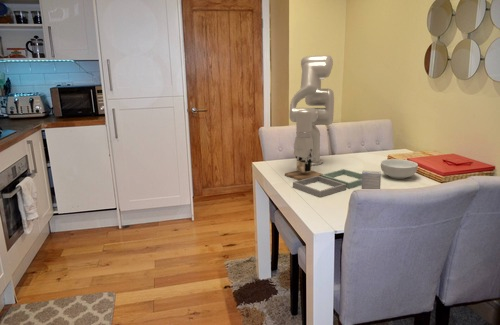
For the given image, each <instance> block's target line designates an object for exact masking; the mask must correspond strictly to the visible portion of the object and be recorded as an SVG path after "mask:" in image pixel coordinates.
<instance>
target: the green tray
mask: <svg viewBox="0 0 500 325" xmlns="http://www.w3.org/2000/svg"><path fill="white" fill-rule="evenodd" d="M343 175H345V176H348V177H351V178H355V179H356V180H353V181H349V182H348V181H346V180H342V179H339V178H337V177H339V176H343ZM321 177H324V178H327V179H331V180H334V181H337V182H340V183H344V184H346V189H353V188H356V187H358V186H362V173H360V172H356V171H352V170H348V169H345V168H341V169H337V170H334V171H331V172H326V173H322V175H321Z"/></svg>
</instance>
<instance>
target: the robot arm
mask: <svg viewBox="0 0 500 325" xmlns="http://www.w3.org/2000/svg"><path fill="white" fill-rule="evenodd" d="M333 59H334V58H333V57H332V56H331V55H328V54H326V55H309V56H308V55H307V56H304V57H302V58H301V60H300V66H301V80H300V89H299V90H298V91H296V93H295V94H294V95H293V97H292V99H291V101H290V106H289V119H290V121H291V122H292V123H295V124H296V126H295V127H296V128H295V130H296V132H295V134H296V135H295V139H294V144H293V155H294V157H295V159H296V162H297V161H300V160H306V164H305V171H306V172H307V171H310V170H312V166H318V165H319V166H320V165H321V164H323V163H324V162H323V161H324V160H322V159H321V157H320V156H321V132H320V130H319V128H318V127H317V126H329V125H332V123H333V121H334V112H335V111H334V108H335V107H334V106H335V95H334V90H332V89H331V88H322V79H321V78H329V77H330V75H331V72H332V69H333V65H334V61H333ZM303 99H304V101H305V104H306V105H307V106H309V107H297V105H298V103H299V102H300V101H301V100H303ZM310 106H311V107H310ZM323 106H324V107H323Z"/></svg>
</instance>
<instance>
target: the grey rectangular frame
mask: <svg viewBox="0 0 500 325" xmlns="http://www.w3.org/2000/svg"><path fill="white" fill-rule="evenodd" d="M316 182H317V183H318V182H319V183H321V184H325V185H327V186H331V187H329V188H326V189H325V188H324V189H322V190H320V189H317V188H313V187H311V186H308V185H309V184H314V183H316ZM292 188H293V189H297V190H299V191H302V192H305V193H308V194H309V195H312V196H316V197H319V198H322V197H326V196H329V195H332V194H335V193H339V192H342V191H345V190H347V188H346V184H344V183H340V182H337V181H334V180H331V179H327V178H324V177H321V176H314V177H311V178H307V179H303V180H296V181H293V182H292Z"/></svg>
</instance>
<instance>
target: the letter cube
mask: <svg viewBox="0 0 500 325" xmlns="http://www.w3.org/2000/svg"><path fill="white" fill-rule="evenodd" d="M305 164H306V160H300V161H297V160H296V171H300V172H303V173H304V172H306V171H305ZM311 170H312V169H311ZM311 170H310V171H311ZM307 172H308V171H307Z"/></svg>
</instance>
